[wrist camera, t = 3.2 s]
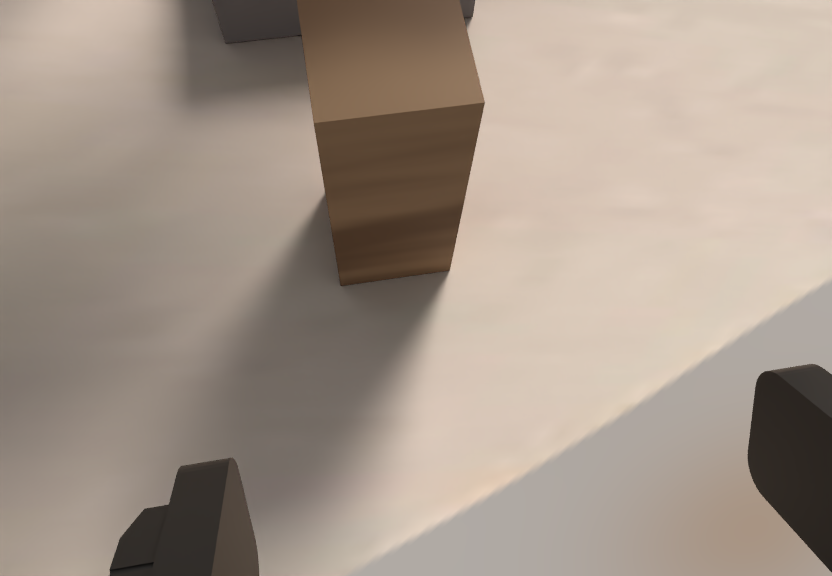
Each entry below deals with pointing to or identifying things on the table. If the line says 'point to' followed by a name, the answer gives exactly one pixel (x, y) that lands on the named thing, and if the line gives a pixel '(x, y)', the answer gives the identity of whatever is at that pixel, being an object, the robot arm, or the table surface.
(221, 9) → the socket
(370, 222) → the walnut peg
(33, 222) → the table surface
